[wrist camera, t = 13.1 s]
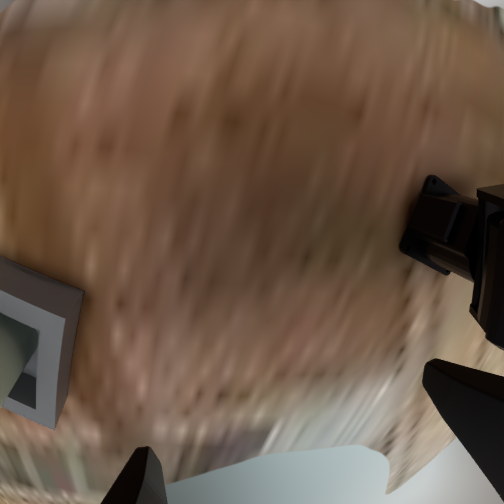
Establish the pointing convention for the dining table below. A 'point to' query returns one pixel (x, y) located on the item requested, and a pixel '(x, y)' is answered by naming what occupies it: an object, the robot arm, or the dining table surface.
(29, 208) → the dining table surface
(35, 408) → the holder
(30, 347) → the peg
